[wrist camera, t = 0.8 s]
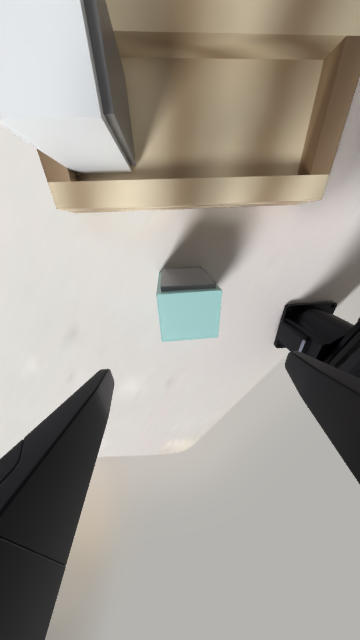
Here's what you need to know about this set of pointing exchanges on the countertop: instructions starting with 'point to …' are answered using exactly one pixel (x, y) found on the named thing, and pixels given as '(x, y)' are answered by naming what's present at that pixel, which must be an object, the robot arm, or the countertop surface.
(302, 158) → the wooden tray
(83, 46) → the grey rectangular block
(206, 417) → the countertop surface
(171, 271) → the teal block
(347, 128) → the countertop surface
